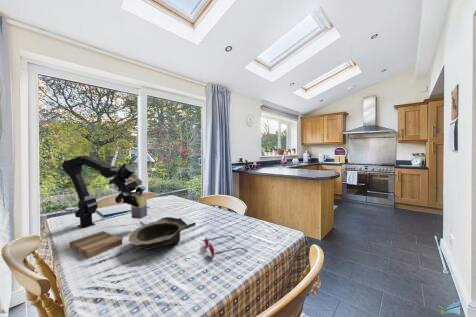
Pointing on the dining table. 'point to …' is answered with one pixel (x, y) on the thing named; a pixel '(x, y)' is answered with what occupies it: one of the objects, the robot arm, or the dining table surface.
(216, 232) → the dining table surface
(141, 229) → the stone bowl
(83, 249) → the walnut stand
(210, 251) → the glasses
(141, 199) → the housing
